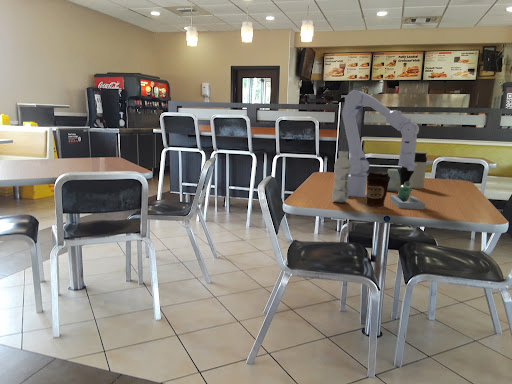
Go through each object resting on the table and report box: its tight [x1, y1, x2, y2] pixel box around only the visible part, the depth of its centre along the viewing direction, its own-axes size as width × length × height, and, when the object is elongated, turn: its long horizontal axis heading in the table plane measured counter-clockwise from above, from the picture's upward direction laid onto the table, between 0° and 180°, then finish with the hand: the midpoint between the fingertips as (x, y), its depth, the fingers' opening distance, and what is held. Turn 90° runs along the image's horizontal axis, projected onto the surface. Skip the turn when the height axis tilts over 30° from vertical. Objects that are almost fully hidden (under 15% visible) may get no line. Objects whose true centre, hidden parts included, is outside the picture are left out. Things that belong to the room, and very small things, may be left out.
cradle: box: [389, 194, 426, 210], centre depth 155 cm, size 9×14×2 cm
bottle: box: [396, 182, 413, 202], centre depth 158 cm, size 4×4×9 cm
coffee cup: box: [366, 171, 390, 208], centre depth 150 cm, size 9×8×13 cm
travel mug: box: [409, 150, 428, 190], centre depth 197 cm, size 8×8×18 cm
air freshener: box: [386, 168, 401, 193], centre depth 186 cm, size 11×8×10 cm
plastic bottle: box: [331, 150, 351, 203], centre depth 154 cm, size 6×7×20 cm
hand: (403, 186), depth 161 cm, fingers closed
